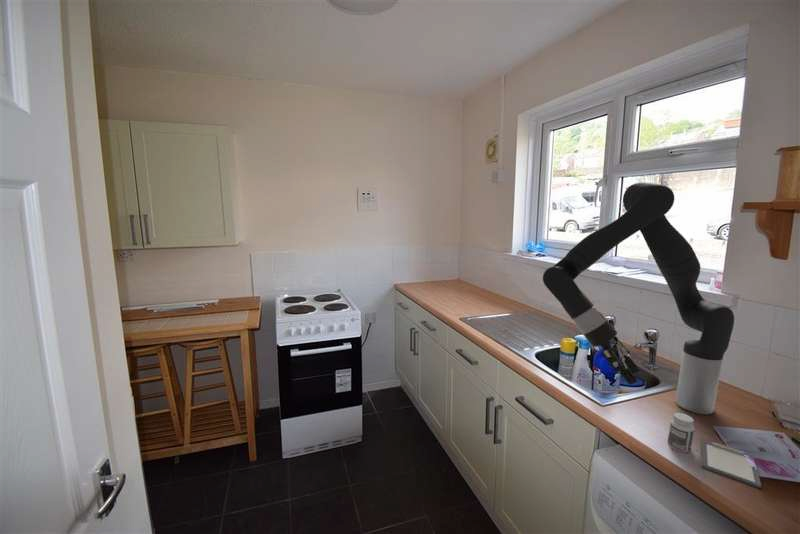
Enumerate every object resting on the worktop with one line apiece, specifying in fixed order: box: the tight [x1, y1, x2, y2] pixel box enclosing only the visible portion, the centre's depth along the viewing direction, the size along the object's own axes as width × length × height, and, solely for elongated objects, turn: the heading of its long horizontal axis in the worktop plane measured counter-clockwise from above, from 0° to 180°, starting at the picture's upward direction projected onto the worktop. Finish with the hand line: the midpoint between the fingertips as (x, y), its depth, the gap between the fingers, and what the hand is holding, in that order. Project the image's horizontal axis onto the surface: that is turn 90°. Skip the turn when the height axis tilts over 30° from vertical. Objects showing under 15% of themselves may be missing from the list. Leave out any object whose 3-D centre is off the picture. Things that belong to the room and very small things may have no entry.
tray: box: [700, 440, 762, 489], centre depth 86 cm, size 12×10×1 cm
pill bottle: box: [667, 412, 695, 453], centre depth 91 cm, size 5×5×8 cm
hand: (635, 377), depth 96 cm, fingers open, 8 cm apart
